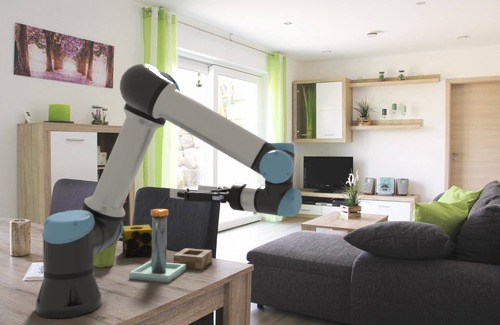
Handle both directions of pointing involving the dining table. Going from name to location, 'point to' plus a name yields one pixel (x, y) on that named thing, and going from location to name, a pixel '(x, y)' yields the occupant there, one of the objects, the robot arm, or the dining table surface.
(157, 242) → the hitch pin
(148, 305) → the dining table surface
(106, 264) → the plant pot
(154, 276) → the tray
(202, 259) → the socket collar
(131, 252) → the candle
